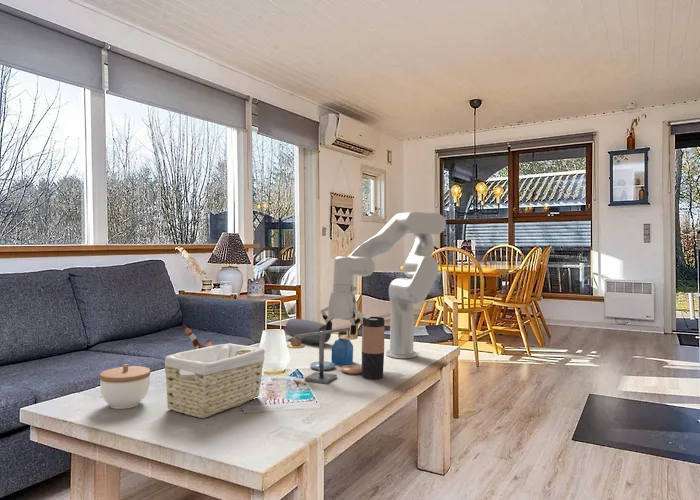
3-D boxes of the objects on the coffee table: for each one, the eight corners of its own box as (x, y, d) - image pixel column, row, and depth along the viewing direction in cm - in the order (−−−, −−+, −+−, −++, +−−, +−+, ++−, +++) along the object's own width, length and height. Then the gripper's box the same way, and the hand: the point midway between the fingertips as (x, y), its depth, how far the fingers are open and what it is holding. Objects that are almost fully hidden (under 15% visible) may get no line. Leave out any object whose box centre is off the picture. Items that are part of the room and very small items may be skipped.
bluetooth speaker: (332, 344, 220) (332, 322, 220) (316, 347, 213) (317, 324, 213) (299, 337, 236) (299, 316, 235) (283, 339, 229) (284, 318, 229)
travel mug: (382, 380, 162) (383, 320, 162) (359, 378, 164) (360, 319, 164) (385, 374, 170) (386, 317, 170) (363, 373, 171) (364, 316, 171)
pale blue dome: (316, 363, 184) (316, 360, 184) (338, 366, 180) (338, 363, 180) (305, 369, 175) (306, 365, 175) (328, 371, 172) (328, 368, 172)
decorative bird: (176, 356, 177) (193, 318, 177) (223, 375, 178) (240, 337, 179) (151, 377, 148) (171, 332, 149) (207, 400, 150) (227, 355, 150)
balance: (293, 372, 171) (294, 320, 171) (360, 380, 162) (361, 326, 161) (281, 377, 164) (282, 324, 163) (351, 387, 154) (352, 330, 154)
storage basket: (226, 389, 150) (227, 341, 150) (267, 398, 142) (267, 347, 142) (160, 411, 130) (161, 355, 130) (203, 423, 122) (204, 364, 121)
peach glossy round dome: (346, 367, 179) (346, 363, 179) (369, 369, 176) (369, 366, 176) (336, 372, 171) (336, 369, 171) (360, 375, 167) (360, 372, 167)
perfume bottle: (331, 363, 184) (331, 332, 184) (337, 360, 190) (338, 329, 190) (346, 365, 182) (347, 333, 182) (352, 362, 188) (353, 330, 187)
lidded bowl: (117, 415, 125) (117, 373, 125) (89, 406, 132) (90, 365, 132) (159, 402, 136) (160, 363, 136) (132, 394, 143) (132, 357, 143)
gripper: (367, 290, 186) (365, 335, 186) (326, 287, 192) (324, 330, 192) (360, 291, 179) (358, 338, 179) (318, 287, 185) (316, 333, 185)
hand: (340, 334), depth 185 cm, fingers open, 9 cm apart
